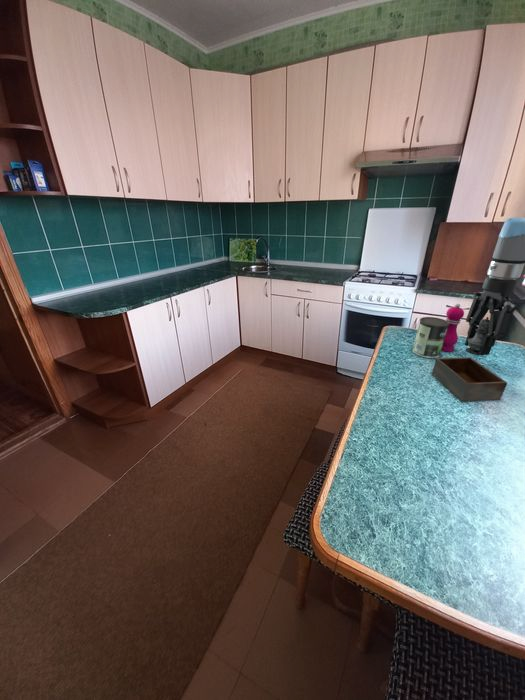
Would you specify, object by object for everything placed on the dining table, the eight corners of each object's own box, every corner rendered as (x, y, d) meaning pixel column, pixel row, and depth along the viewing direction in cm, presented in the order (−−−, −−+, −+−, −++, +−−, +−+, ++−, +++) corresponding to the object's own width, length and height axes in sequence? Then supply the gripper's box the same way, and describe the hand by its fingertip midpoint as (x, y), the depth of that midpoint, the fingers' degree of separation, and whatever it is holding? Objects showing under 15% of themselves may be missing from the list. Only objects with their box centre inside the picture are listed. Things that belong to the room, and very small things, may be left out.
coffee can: (442, 352, 122) (452, 320, 115) (435, 361, 115) (445, 328, 108) (416, 345, 128) (424, 314, 121) (408, 353, 121) (416, 321, 115)
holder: (464, 372, 107) (470, 357, 104) (500, 400, 92) (507, 382, 89) (431, 374, 106) (436, 358, 103) (461, 401, 91) (467, 384, 88)
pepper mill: (434, 349, 124) (446, 304, 115) (436, 343, 129) (448, 300, 120) (453, 353, 120) (468, 307, 111) (455, 347, 125) (469, 302, 116)
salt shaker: (461, 347, 96) (472, 313, 91) (481, 348, 95) (494, 314, 90) (468, 355, 91) (481, 319, 86) (489, 356, 90) (504, 320, 85)
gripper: (466, 270, 91) (446, 337, 101) (517, 285, 74) (486, 364, 84) (490, 269, 91) (467, 337, 101) (545, 285, 74) (511, 363, 84)
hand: (476, 349), depth 93 cm, fingers closed on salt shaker, 6 cm apart
